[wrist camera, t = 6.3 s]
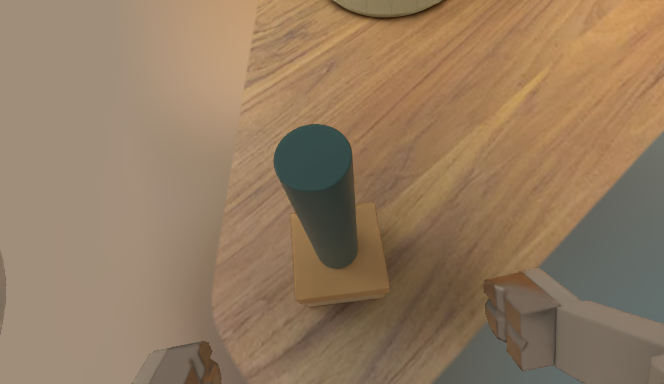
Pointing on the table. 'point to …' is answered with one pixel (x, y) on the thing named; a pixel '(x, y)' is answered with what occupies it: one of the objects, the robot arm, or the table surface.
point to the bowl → (386, 7)
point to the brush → (329, 220)
